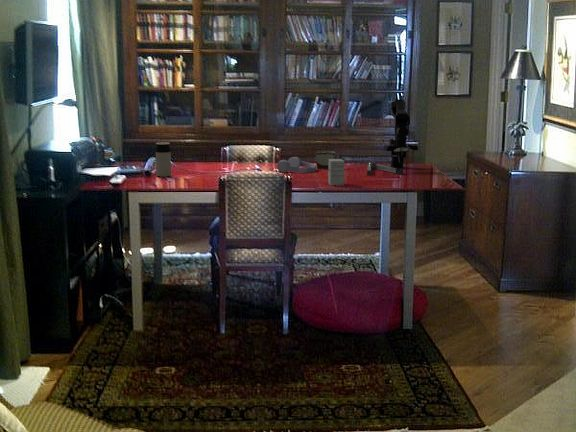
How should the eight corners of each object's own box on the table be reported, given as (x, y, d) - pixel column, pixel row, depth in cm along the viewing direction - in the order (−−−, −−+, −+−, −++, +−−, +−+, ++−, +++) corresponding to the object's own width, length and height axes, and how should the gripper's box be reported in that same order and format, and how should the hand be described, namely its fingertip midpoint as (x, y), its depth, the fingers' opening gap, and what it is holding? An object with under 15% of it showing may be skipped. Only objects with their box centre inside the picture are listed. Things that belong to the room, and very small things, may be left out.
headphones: (274, 172, 449) (308, 176, 442) (275, 159, 448) (309, 164, 441) (289, 167, 469) (321, 171, 462) (290, 155, 468) (322, 159, 461)
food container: (336, 167, 466) (336, 150, 464) (335, 169, 460) (336, 152, 458) (315, 167, 467) (315, 150, 465) (314, 169, 461) (314, 151, 459)
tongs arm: (375, 168, 461) (375, 164, 460) (378, 168, 462) (378, 164, 461) (400, 174, 440) (400, 169, 440) (403, 173, 441) (403, 169, 441)
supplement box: (327, 183, 410) (328, 159, 408) (342, 183, 411) (342, 158, 409) (329, 185, 403) (330, 160, 401) (344, 185, 404) (344, 160, 401)
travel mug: (168, 177, 429) (167, 143, 425) (154, 176, 430) (153, 143, 427) (173, 175, 437) (172, 142, 433) (159, 174, 438) (158, 141, 435)
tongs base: (367, 168, 465) (367, 162, 464) (375, 168, 465) (375, 162, 464) (367, 175, 438) (367, 168, 437) (375, 175, 437) (375, 169, 436)
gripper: (411, 133, 457) (410, 160, 461) (380, 134, 453) (379, 161, 456) (419, 135, 447) (418, 163, 450) (387, 136, 443) (386, 164, 446)
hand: (400, 163), depth 451 cm, fingers closed
